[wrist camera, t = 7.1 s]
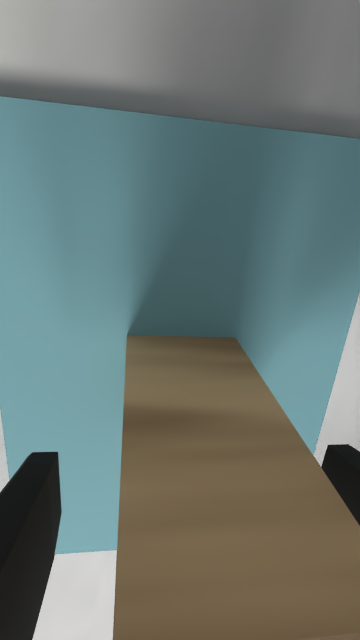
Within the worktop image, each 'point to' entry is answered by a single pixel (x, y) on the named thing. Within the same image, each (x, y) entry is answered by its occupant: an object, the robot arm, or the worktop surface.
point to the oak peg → (224, 507)
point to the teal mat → (161, 274)
